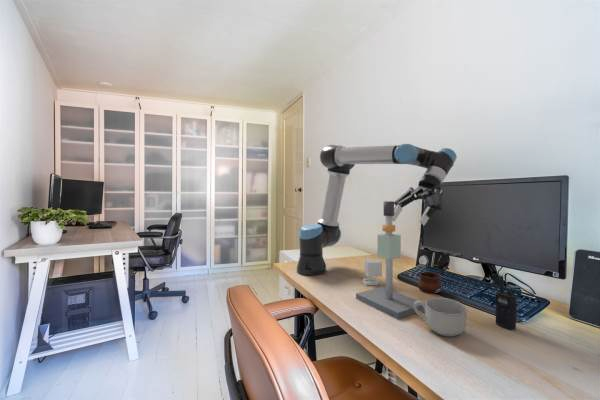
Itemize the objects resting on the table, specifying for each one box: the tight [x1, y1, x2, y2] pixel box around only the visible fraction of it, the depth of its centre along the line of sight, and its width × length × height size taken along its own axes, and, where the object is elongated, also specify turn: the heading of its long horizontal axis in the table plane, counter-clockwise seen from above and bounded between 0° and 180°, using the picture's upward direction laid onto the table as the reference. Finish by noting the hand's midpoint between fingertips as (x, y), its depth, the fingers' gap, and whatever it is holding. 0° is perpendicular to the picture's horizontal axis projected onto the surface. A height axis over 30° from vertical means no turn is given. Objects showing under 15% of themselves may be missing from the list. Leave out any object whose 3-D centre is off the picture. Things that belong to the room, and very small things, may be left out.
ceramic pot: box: [417, 271, 443, 295], centre depth 115 cm, size 18×18×7 cm
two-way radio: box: [494, 275, 518, 330], centre depth 84 cm, size 6×4×15 cm
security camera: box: [362, 258, 383, 286], centre depth 125 cm, size 6×7×10 cm
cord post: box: [355, 200, 425, 320], centre depth 102 cm, size 20×14×37 cm
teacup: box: [413, 296, 468, 338], centre depth 83 cm, size 14×11×8 cm
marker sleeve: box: [377, 233, 402, 260], centre depth 102 cm, size 6×6×8 cm
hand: (406, 221), depth 107 cm, fingers open, 13 cm apart
